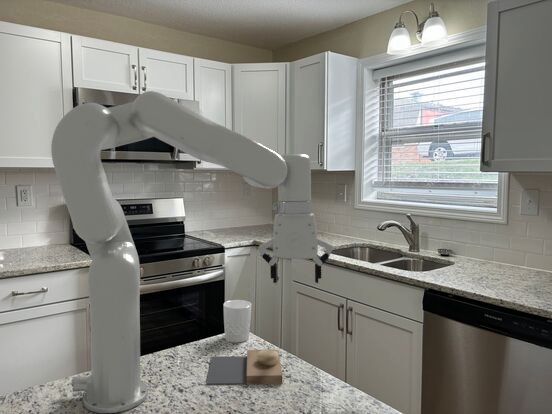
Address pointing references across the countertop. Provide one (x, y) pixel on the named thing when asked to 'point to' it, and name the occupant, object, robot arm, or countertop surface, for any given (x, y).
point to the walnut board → (262, 370)
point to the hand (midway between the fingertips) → (296, 281)
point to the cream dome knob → (267, 357)
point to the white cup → (237, 320)
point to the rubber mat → (227, 371)
